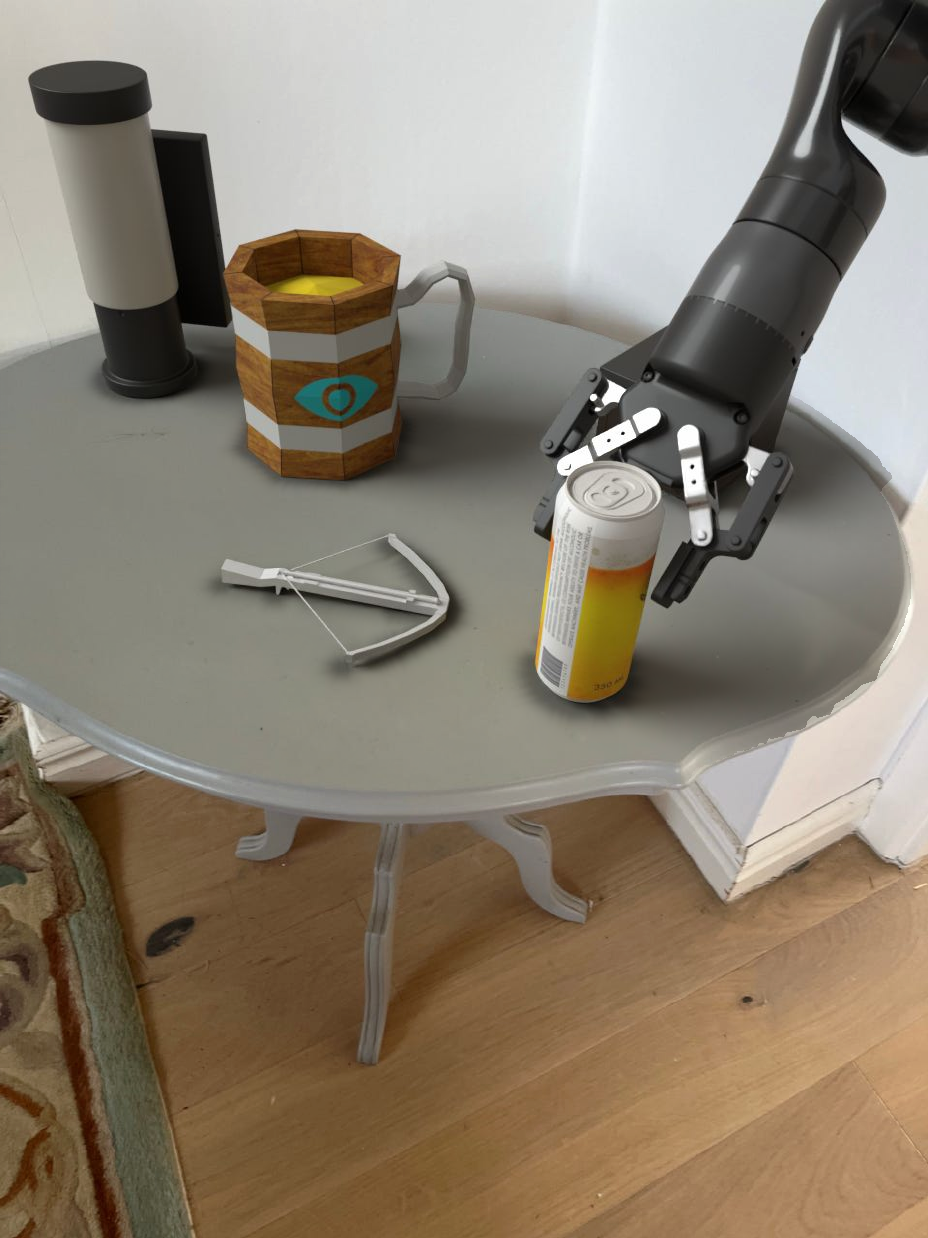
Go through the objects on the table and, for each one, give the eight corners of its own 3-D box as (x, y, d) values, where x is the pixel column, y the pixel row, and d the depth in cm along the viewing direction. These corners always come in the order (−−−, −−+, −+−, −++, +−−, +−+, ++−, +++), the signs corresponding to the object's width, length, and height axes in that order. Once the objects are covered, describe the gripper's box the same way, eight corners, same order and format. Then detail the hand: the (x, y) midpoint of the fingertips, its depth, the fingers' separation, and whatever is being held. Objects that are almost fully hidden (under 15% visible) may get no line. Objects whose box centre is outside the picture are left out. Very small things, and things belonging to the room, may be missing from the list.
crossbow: (461, 563, 72) (464, 542, 70) (428, 686, 63) (431, 665, 61) (253, 524, 73) (252, 502, 71) (192, 641, 64) (189, 618, 62)
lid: (717, 428, 70) (720, 419, 70) (598, 375, 75) (599, 366, 75) (798, 367, 77) (801, 358, 77) (684, 321, 82) (686, 313, 82)
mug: (261, 494, 76) (237, 315, 65) (233, 406, 85) (208, 237, 74) (494, 455, 81) (506, 284, 70) (444, 376, 90) (449, 214, 80)
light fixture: (68, 391, 86) (-18, 85, 69) (117, 333, 94) (51, 45, 76) (199, 405, 85) (145, 98, 68) (237, 345, 93) (197, 57, 76)
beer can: (645, 674, 63) (690, 489, 53) (587, 724, 60) (624, 537, 50) (573, 628, 66) (603, 444, 56) (515, 673, 63) (535, 486, 52)
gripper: (622, 256, 55) (481, 502, 57) (851, 343, 49) (686, 618, 50) (656, 313, 62) (530, 531, 64) (862, 396, 56) (716, 637, 57)
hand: (599, 569), depth 57 cm, fingers open, 8 cm apart
